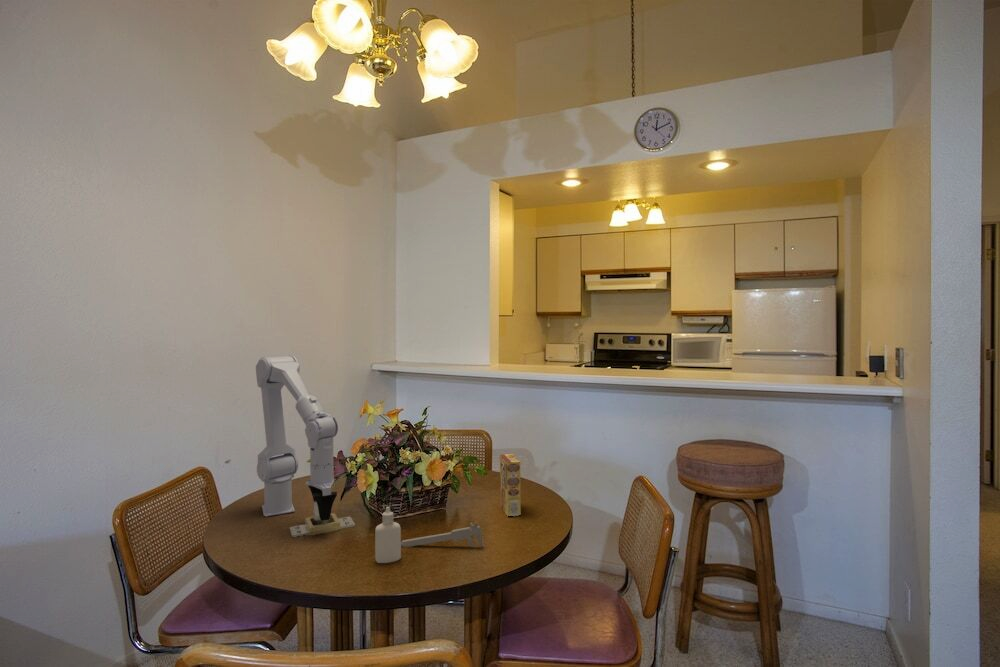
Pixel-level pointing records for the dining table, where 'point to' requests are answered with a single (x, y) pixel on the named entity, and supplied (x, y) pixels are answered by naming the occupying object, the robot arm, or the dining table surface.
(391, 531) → the eye dropper bottle
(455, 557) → the dining table surface
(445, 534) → the caliper
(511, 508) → the candy box
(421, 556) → the dining table surface
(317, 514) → the translucent cylinder
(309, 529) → the cream tabbed socket tray
